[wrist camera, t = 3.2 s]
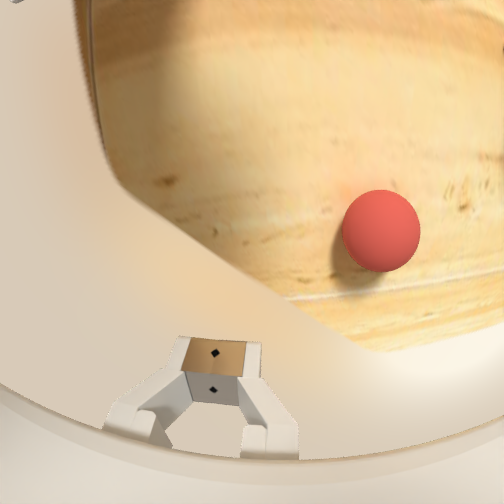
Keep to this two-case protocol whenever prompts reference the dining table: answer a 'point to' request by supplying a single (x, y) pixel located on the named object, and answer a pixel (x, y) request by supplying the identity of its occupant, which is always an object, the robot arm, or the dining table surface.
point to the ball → (381, 230)
